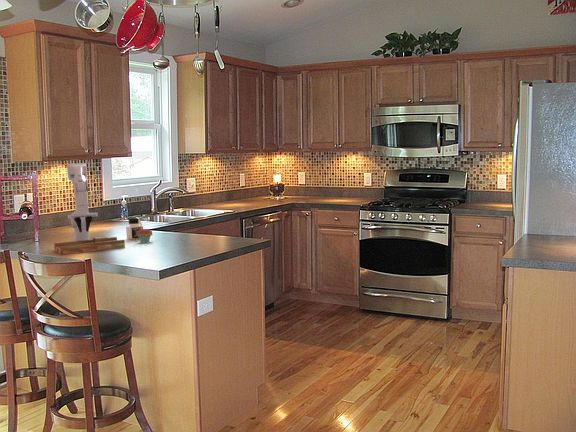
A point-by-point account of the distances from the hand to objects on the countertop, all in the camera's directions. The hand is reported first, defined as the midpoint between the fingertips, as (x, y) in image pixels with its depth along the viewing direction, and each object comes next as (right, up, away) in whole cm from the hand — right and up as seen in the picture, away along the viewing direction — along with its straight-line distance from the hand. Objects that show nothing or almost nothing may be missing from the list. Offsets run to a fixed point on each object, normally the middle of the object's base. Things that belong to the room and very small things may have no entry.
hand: (84, 231), depth 324 cm
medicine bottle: (+17, -5, +36) cm, 41 cm away
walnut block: (+7, -6, +5) cm, 11 cm away
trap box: (+2, -9, +2) cm, 10 cm away
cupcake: (+26, -6, +23) cm, 35 cm away
